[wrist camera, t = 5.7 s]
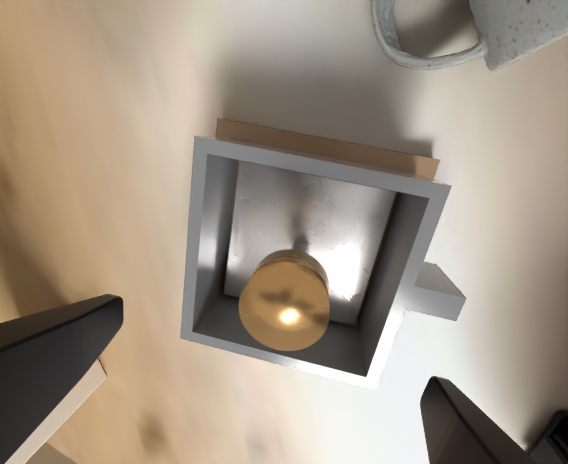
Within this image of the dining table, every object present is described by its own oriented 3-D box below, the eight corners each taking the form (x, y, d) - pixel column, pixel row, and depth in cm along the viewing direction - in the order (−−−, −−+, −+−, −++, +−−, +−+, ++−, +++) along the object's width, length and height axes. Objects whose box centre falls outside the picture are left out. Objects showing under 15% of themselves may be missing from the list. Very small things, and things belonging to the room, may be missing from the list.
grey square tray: (461, 164, 15) (529, 174, 10) (394, 342, 19) (418, 416, 14) (223, 119, 16) (174, 108, 11) (206, 295, 20) (163, 347, 15)
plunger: (393, 190, 15) (446, 227, 8) (353, 319, 17) (368, 428, 11) (243, 160, 15) (178, 172, 9) (227, 288, 18) (167, 372, 11)
